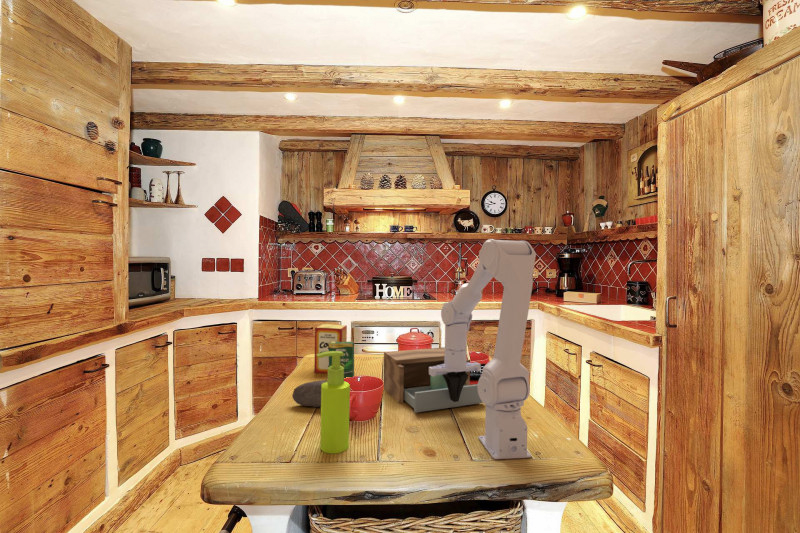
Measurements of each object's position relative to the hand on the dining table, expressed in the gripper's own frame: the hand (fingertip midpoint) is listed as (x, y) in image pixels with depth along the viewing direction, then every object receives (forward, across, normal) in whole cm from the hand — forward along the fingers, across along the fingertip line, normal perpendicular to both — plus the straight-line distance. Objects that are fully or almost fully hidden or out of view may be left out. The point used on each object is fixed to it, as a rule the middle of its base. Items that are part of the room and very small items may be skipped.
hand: (454, 400), depth 101 cm
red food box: (+3, +22, -47) cm, 52 cm away
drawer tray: (+3, 0, -8) cm, 8 cm away
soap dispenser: (+3, +34, +8) cm, 35 cm away
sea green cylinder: (+1, 0, -8) cm, 8 cm away
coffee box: (+3, +22, -32) cm, 39 cm away
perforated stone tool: (+3, +32, -16) cm, 36 cm away
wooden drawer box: (+3, 0, -17) cm, 17 cm away
